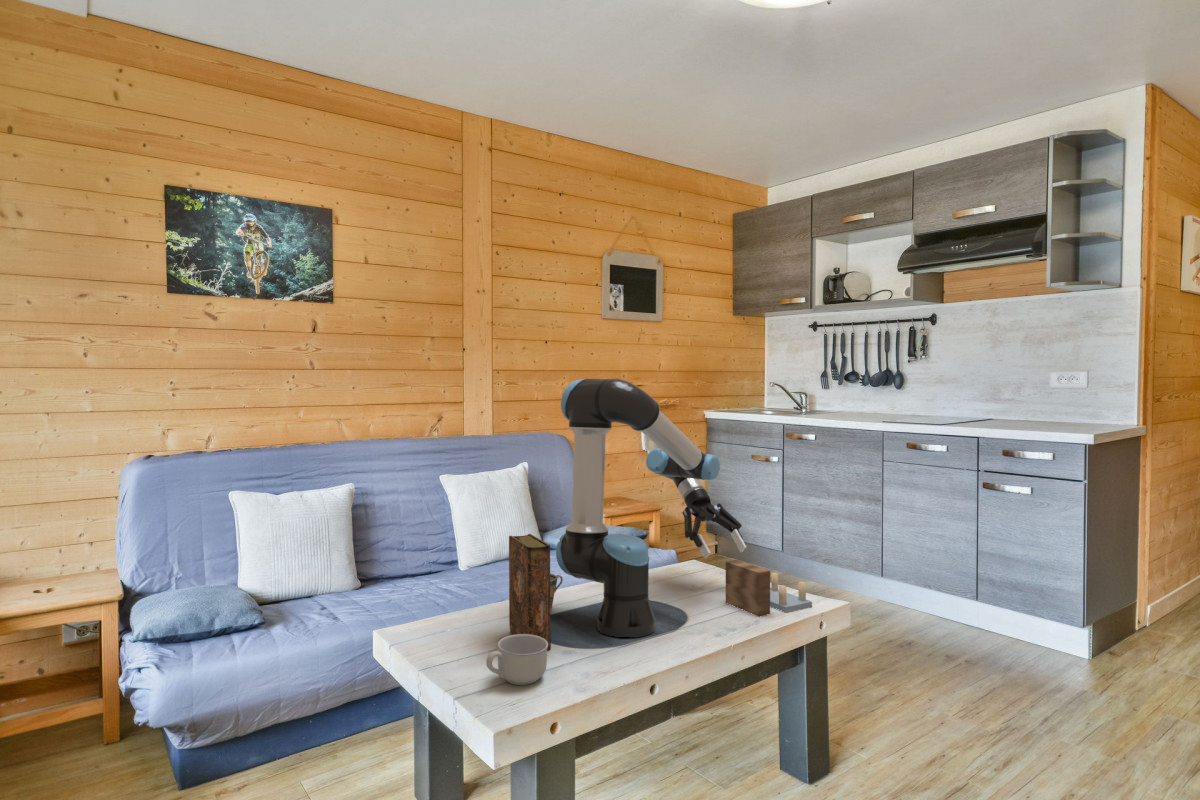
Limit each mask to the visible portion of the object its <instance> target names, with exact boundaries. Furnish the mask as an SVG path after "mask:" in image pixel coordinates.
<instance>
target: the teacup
mask: <svg viewBox="0 0 1200 800" xmlns="http://www.w3.org/2000/svg"><path fill="white" fill-rule="evenodd" d="M547 648H548V642H547V641H546V640H545V639H544V638H541V637H539V636H536V635H529V634H518V635H512V634H511V635H508V636H505V637H503V638H501V639H499V641H497V650H494V651H491V652H490V653H489V654H488V656H487V657H486V668H488V670H489V671H490V672H492V673H494V674H496V675H498V677H499V678H503V679H504V680H506V682H508V683H509V684H512V685H516V686H526V685H527V686H529V685H531V684H533V683H535V682H537V681H538V680H540V679H541V678H542V677H543V675H544V674H545V672H546V669H547V663H548V652H547ZM496 657H497V668H495V667H494V665H493V660H494V659H495V658H496Z"/></svg>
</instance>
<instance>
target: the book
mask: <svg viewBox="0 0 1200 800" xmlns="http://www.w3.org/2000/svg"><path fill="white" fill-rule="evenodd" d="M508 570H509V571H508V584H509V585H508V586H509V587H508V590H509V591H508V594H509V595H508V597H509V599H508V601H509V604H508V605H509V606H508V607H509V610H508V611H509V615H508V616H509V621H508V623H509V633H510V634H511V635H518V634H529V635H536V636H539V637H541V638H544V639H545V640H546V641H547V642H548V648H547V653H548V652H550V651H551V650H552V649H551V641H552V640H551V639H552V637H551V633H552V632H551V614H550V573H551V544H549V543H547V542H546V541H544V540H542V539H540V538H538V537H537V536H535V535H534V534H532V533H528V534H525V535H516V536H515V535H509V536H508Z"/></svg>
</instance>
